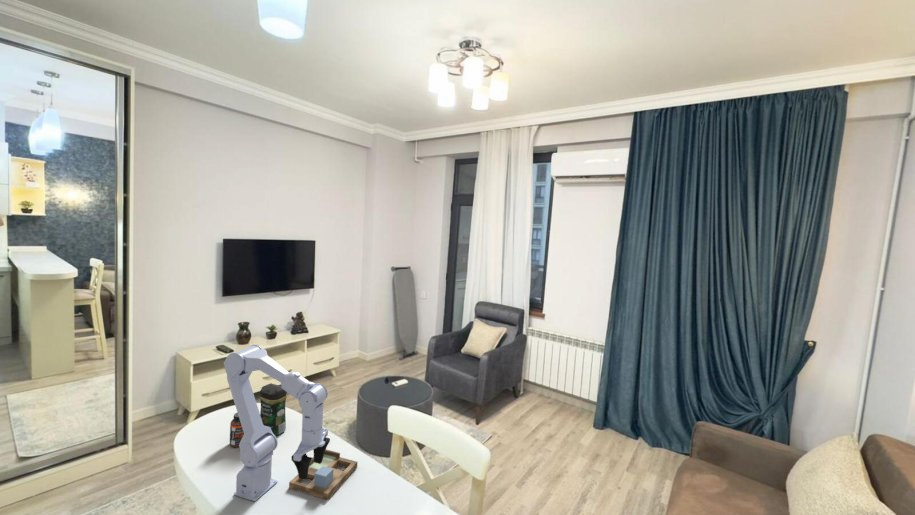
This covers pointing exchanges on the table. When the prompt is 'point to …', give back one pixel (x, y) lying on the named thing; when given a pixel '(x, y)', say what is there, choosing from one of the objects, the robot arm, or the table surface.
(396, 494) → the table surface
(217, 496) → the table surface
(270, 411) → the coffee jar
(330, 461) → the brown compartment tray
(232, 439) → the supplement bottle
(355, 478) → the table surface
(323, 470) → the slate block
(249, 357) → the robot arm
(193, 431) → the table surface
